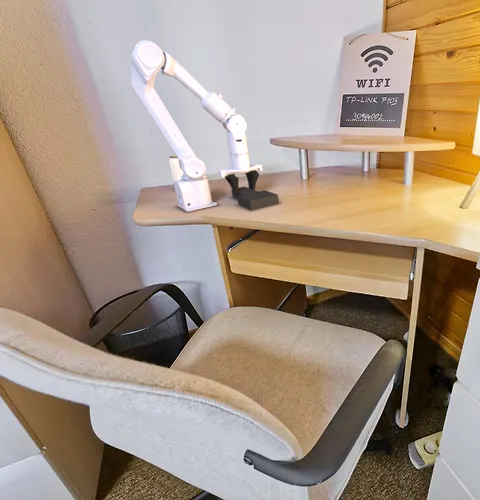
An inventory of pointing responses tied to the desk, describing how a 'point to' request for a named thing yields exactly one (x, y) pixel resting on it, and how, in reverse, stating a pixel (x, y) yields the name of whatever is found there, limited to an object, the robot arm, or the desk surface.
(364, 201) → the desk surface
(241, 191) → the tab pad
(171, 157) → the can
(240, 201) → the notch pad
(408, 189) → the desk surface
